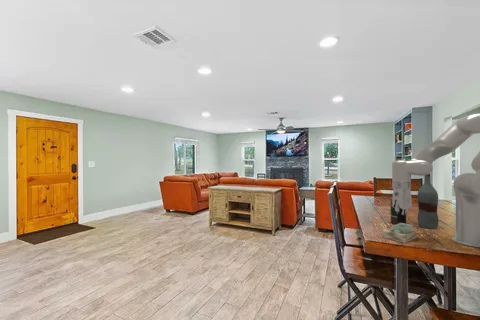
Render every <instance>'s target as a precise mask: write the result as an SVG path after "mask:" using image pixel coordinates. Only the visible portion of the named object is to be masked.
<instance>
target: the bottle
mask: <svg viewBox="0 0 480 320" xmlns="http://www.w3.org/2000/svg"><path fill="white" fill-rule="evenodd" d="M413 225H414V224H408V223H406V224H405V223H400V224H396V225H395V224H393V228H394V231H393V232H396V233H400V234H407V233H409V232H412V231H414V226H413Z"/></svg>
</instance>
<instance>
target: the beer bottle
mask: <svg viewBox="0 0 480 320" xmlns="http://www.w3.org/2000/svg"><path fill="white" fill-rule="evenodd" d="M405 215H406V216H407V213H406V214H405ZM390 223H391V224H392V225H396V224H400V222H397V211H395V208H393V205H392V199H391V200H390ZM405 224H407V222H406V223H405Z"/></svg>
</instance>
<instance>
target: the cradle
mask: <svg viewBox="0 0 480 320" xmlns="http://www.w3.org/2000/svg"><path fill="white" fill-rule="evenodd" d="M393 231H394V227H392V228H389V229H383V230H382V238H384V239H387V240H391V241H396V242H399V243H403V244H405V243H408V242H410V241H413V240H416V239H417V238H418V235H417V234H418V233H417V231H414V230H413V231H412V232H409V233H407V234H400V233H396V232H393Z"/></svg>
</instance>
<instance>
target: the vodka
mask: <svg viewBox="0 0 480 320" xmlns="http://www.w3.org/2000/svg"><path fill="white" fill-rule="evenodd" d="M423 179H424V181H423V182H424V183H423V184H422V186H421V187H420V188H419V189H418V190H417V195H416V196H417V197H416V198H417V206H418V212H417V225H418V226H419V227H421V228H424V229H430V230H431V229H433V230H434V229H435V230H436V229H437V228H438V226H439V221H440V220H439V214H438V205H439V193H438V190H436V188H435V187H434V186H433V184H432V183H431V173H429V174H428V175H424V178H423Z"/></svg>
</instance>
